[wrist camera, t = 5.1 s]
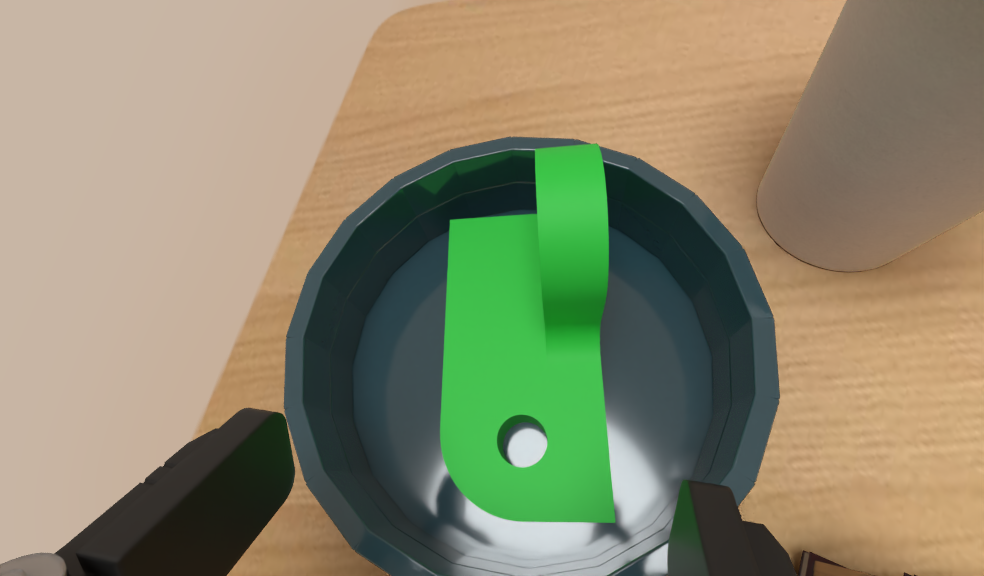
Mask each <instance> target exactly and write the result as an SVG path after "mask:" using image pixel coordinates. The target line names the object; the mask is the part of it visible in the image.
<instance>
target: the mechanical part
mask: <svg viewBox="0 0 984 576" xmlns="http://www.w3.org/2000/svg"><path fill="white" fill-rule="evenodd" d="M535 174H536V198H537V214H527V215H512V216H498V217H483V218H468V219H454V220H450V229H449V250H448V272H447V293H446V314H445V336H444V357H443V378H442V400H441V421H440V442H441V450H442V455H443V459H444V462H445V465H446V467H447V470H448V472H449V474H450V476H451V478H452V480H453V481H454V483H455V484H456V486H457V487H458V489H459V490H460V491H461V492H462V493H463V495H464V496H465V497H466V498H467V499H469V500H470V501H471V502H472V503H473V504H474V505H476V506H477V507H478V508H480V509H482V510H483V511H485V512H487V513H489V514H491V515H493V516H496V517H499V518H502V519H506V520H511V521H520V522H586V523H615V512H614V501H613V490H612V479H611V468H610V457H609V445H608V434H607V423H606V412H605V401H604V390H603V379H602V368H601V356H600V324H601V319H602V315H603V310H604V306H605V301H606V296H607V287H608V268H609V233H608V208H607V194H606V182H605V173H604V166H603V160H602V155H601V151H600V148H599V145H598V144H585V145H573V146H562V147H550V148H538V149H535ZM523 422H528V423H532V424H535V425H537V426H538V427H540V428H541V429H542V430H543V431H544V433H545V434H546V436H547V448H546V451H545V453H544V455H543V457H542V458H541V459H540V460H539V461H538V462H537V463H536V464H534V465H532V466H529V467H516V466H513V465H511V464H510V463H509V462H508V460H507V459H506V457H505V454H504V451H503V441H504V438H505V435H506V433H507V432H508V430H509V429H510V428H511V427H513V426H514V425H516V424H519V423H523Z"/></svg>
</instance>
